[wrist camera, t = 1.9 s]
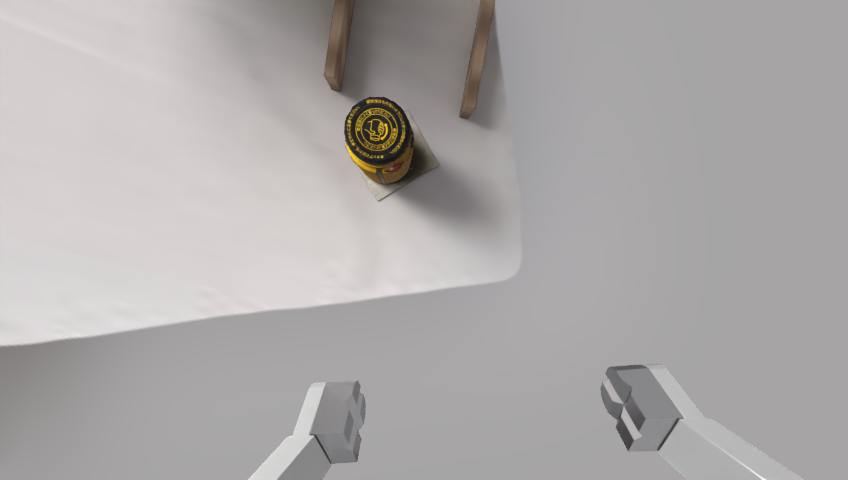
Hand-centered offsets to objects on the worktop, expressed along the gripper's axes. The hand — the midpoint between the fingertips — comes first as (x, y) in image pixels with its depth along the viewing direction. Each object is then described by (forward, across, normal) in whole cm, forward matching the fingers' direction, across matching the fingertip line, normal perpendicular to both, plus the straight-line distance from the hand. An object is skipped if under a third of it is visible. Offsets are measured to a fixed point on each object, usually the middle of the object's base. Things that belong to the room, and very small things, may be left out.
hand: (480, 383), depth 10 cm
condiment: (+29, +6, 0) cm, 30 cm away
